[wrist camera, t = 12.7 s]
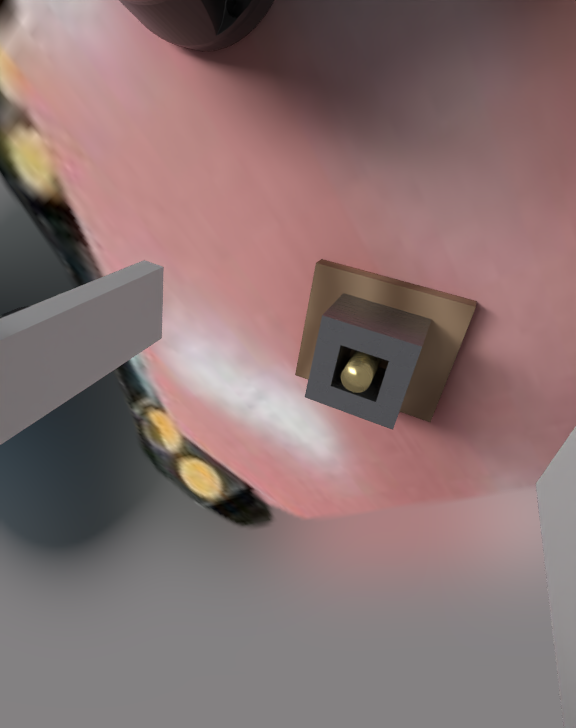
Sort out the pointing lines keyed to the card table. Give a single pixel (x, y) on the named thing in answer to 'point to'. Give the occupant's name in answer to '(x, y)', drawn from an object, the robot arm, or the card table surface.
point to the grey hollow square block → (371, 336)
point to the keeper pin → (359, 371)
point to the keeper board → (439, 306)
